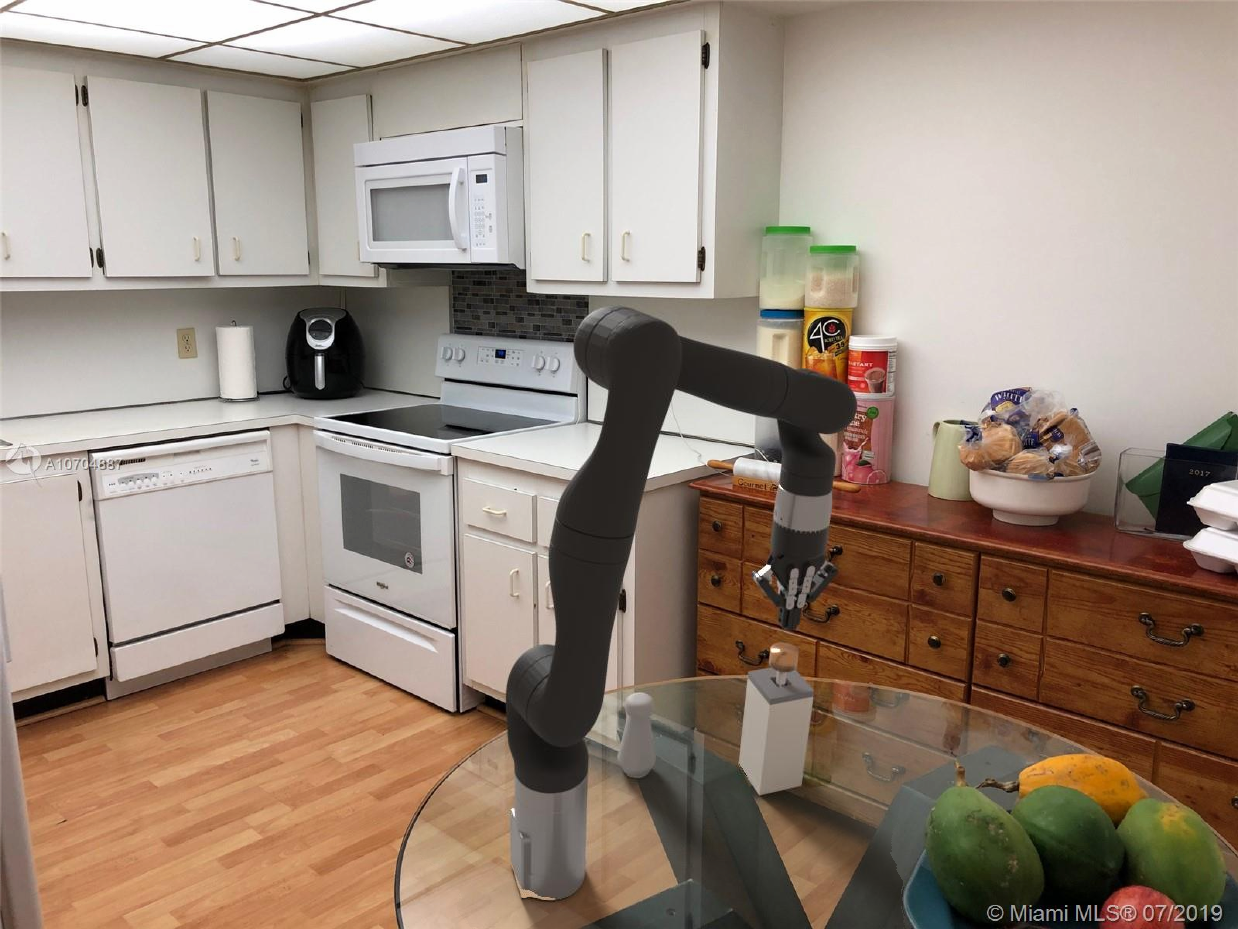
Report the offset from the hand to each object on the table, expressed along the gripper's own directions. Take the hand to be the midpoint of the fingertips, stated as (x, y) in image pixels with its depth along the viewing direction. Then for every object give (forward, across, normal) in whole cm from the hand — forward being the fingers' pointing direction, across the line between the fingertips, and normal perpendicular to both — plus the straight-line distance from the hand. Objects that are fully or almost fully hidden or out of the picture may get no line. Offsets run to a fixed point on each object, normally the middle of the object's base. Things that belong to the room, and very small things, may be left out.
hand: (788, 627), depth 138 cm
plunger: (+21, 0, 0) cm, 21 cm away
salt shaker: (+26, -19, +7) cm, 33 cm away
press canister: (+26, 0, 0) cm, 26 cm away
